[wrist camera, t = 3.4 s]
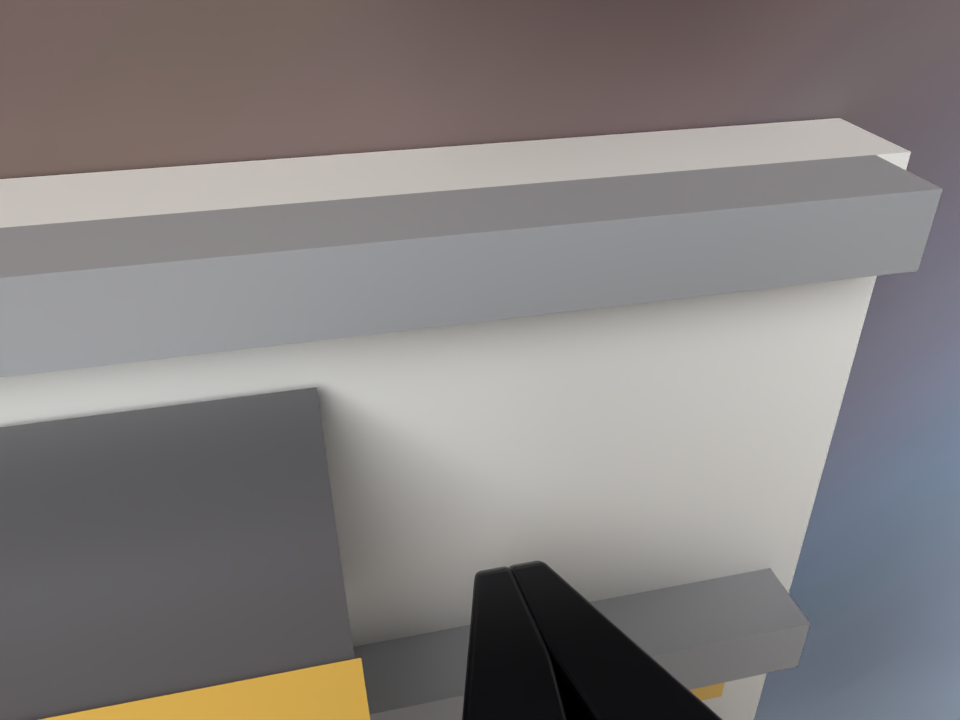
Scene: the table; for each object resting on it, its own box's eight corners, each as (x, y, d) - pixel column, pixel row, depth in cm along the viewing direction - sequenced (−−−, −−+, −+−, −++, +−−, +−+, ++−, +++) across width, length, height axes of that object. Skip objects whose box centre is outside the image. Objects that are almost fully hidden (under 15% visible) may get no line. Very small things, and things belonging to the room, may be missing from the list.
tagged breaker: (321, 383, 10) (374, 750, 6) (346, 603, 12) (399, 989, 8) (-66, 431, 9) (-302, 893, 5) (30, 660, 11) (-86, 1122, 7)
